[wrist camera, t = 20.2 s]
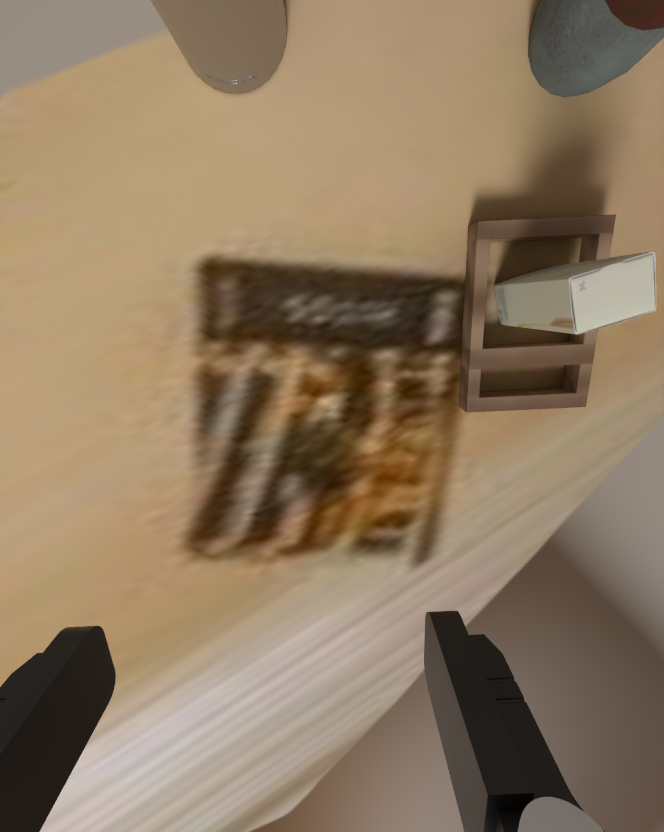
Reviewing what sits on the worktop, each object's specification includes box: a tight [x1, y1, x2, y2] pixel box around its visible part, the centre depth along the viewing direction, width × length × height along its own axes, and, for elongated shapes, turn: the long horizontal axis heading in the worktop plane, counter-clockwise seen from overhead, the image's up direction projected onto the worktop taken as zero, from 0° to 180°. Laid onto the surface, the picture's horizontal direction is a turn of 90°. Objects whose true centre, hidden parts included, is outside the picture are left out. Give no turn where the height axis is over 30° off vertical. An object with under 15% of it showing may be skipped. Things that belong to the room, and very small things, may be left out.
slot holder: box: [459, 215, 616, 412], centre depth 38 cm, size 18×12×2 cm
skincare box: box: [495, 252, 656, 334], centre depth 33 cm, size 6×4×12 cm
